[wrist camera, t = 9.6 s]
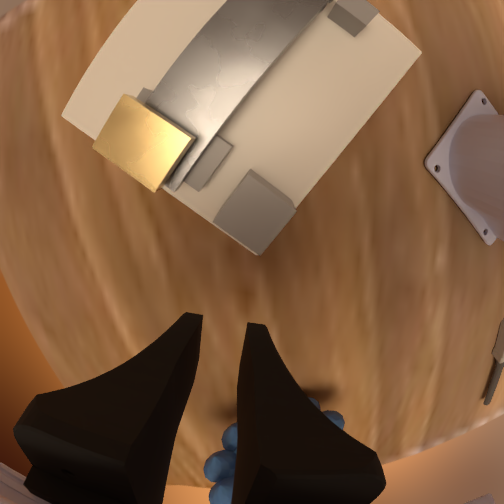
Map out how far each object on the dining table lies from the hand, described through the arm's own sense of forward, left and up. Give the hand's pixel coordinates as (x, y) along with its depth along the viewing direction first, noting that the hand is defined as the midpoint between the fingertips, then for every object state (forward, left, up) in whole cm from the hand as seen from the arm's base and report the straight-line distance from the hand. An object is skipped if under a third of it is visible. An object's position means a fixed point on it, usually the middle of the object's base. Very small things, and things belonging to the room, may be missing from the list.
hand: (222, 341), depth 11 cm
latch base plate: (+7, -9, -10) cm, 15 cm away
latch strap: (+7, -9, -8) cm, 14 cm away
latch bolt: (+8, -3, -6) cm, 10 cm away
